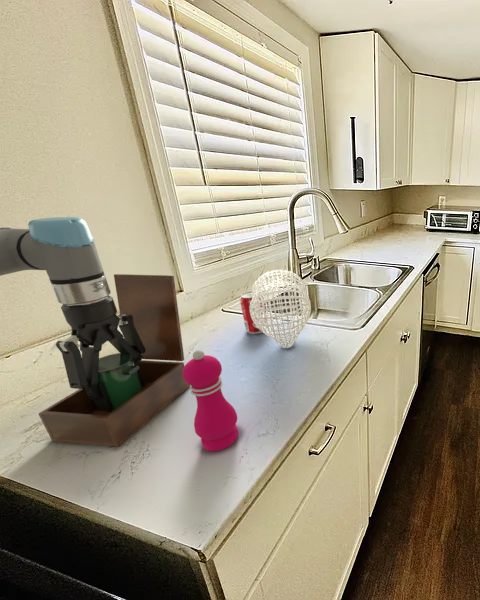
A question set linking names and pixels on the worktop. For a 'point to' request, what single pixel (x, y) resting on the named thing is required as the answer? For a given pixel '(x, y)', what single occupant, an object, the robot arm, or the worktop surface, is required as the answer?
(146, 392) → the chest
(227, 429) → the pepper mill
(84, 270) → the robot arm
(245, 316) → the soda can
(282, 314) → the heart
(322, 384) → the worktop surface
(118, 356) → the green pot
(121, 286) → the lid
